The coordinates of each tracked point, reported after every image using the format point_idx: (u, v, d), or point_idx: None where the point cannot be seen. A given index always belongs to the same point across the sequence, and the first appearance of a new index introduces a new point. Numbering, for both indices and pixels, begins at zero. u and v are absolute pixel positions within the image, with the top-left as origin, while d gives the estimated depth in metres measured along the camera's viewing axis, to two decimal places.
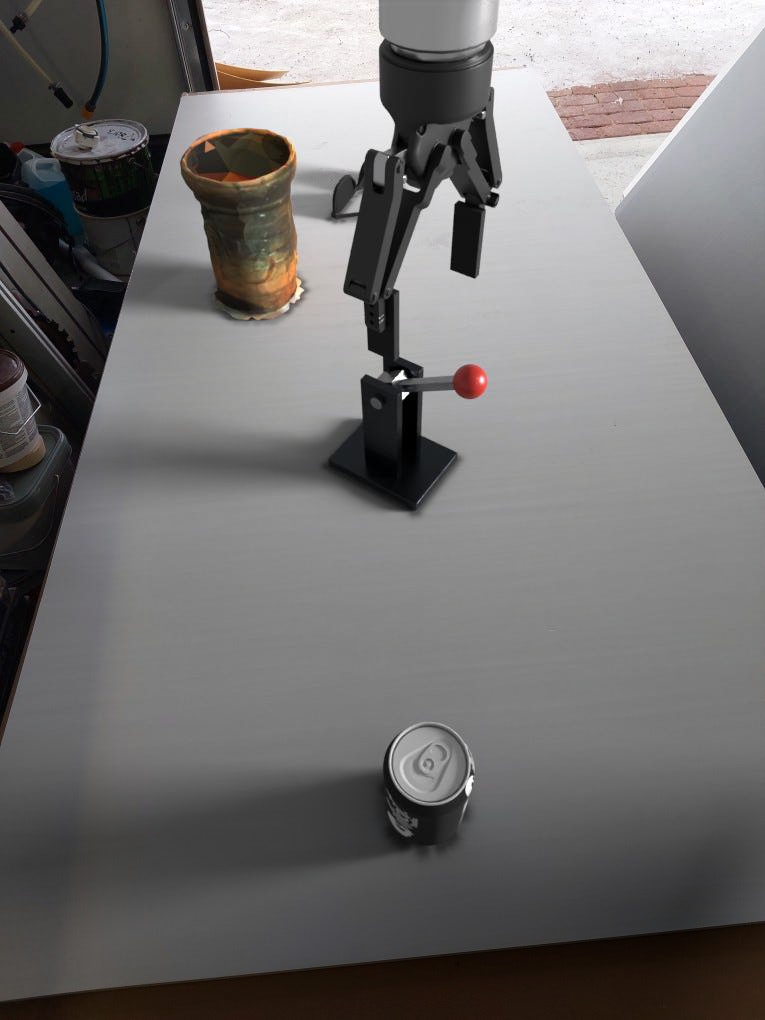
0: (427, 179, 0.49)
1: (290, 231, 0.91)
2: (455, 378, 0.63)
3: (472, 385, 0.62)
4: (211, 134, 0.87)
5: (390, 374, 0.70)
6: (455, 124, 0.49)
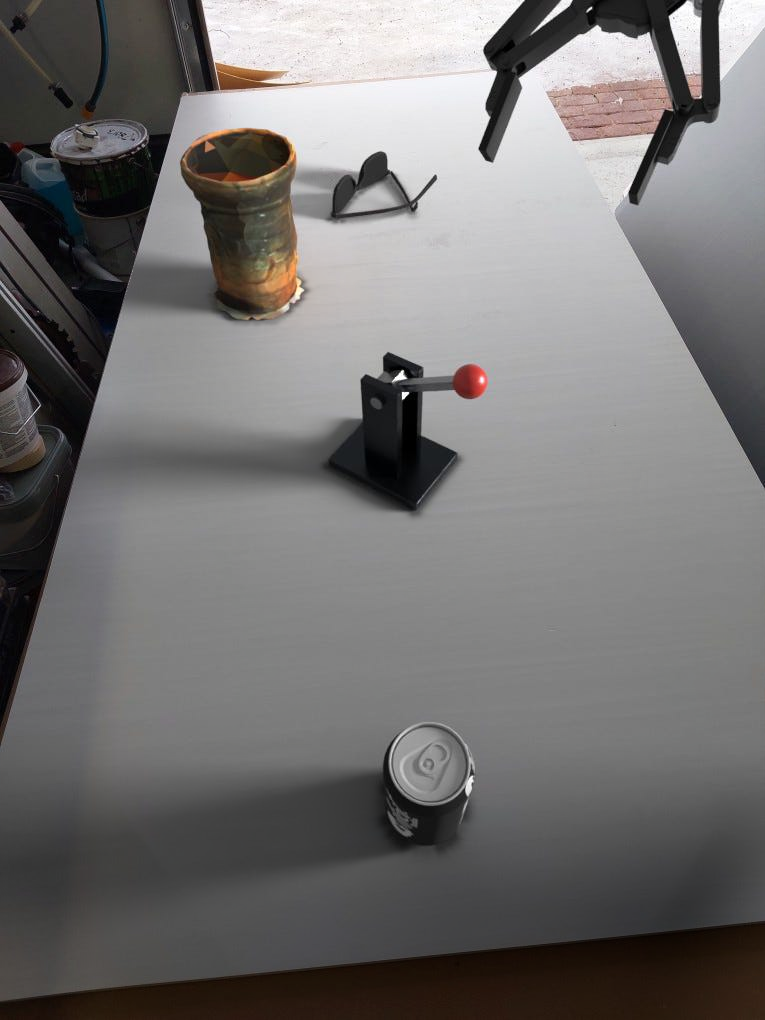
0: None
1: (290, 231, 0.91)
2: (455, 378, 0.63)
3: (472, 385, 0.62)
4: (211, 134, 0.87)
5: (390, 374, 0.70)
6: None
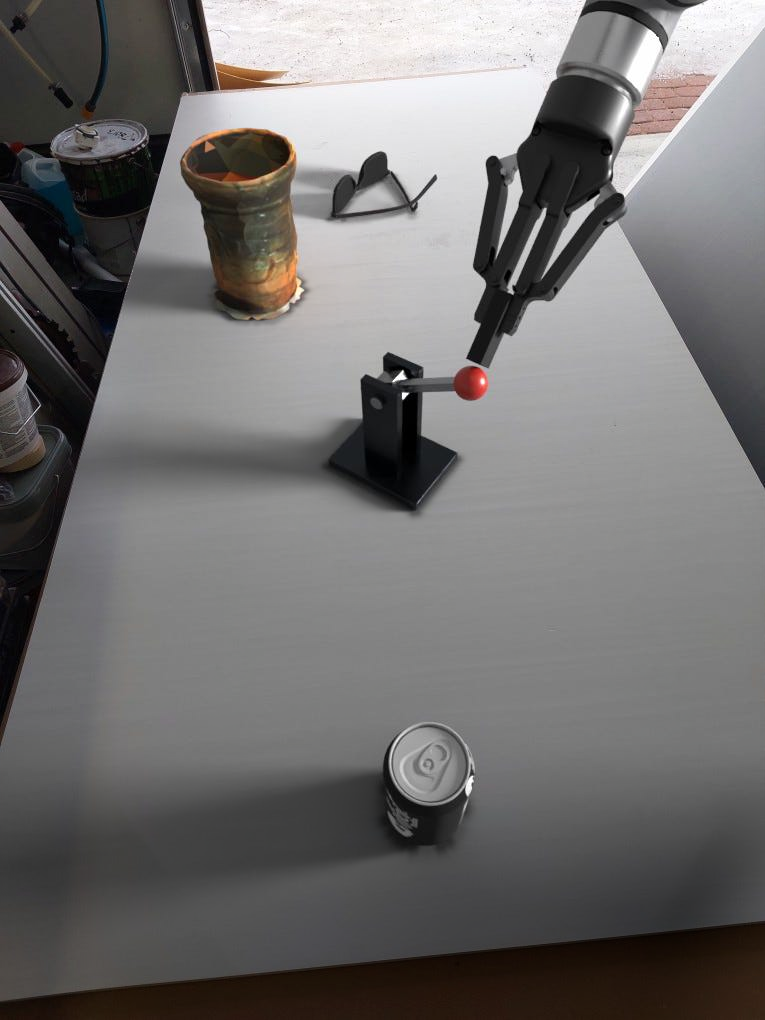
0: None
1: (290, 231, 0.91)
2: (456, 379, 0.63)
3: (473, 387, 0.62)
4: (211, 134, 0.87)
5: (390, 374, 0.70)
6: (576, 161, 0.57)
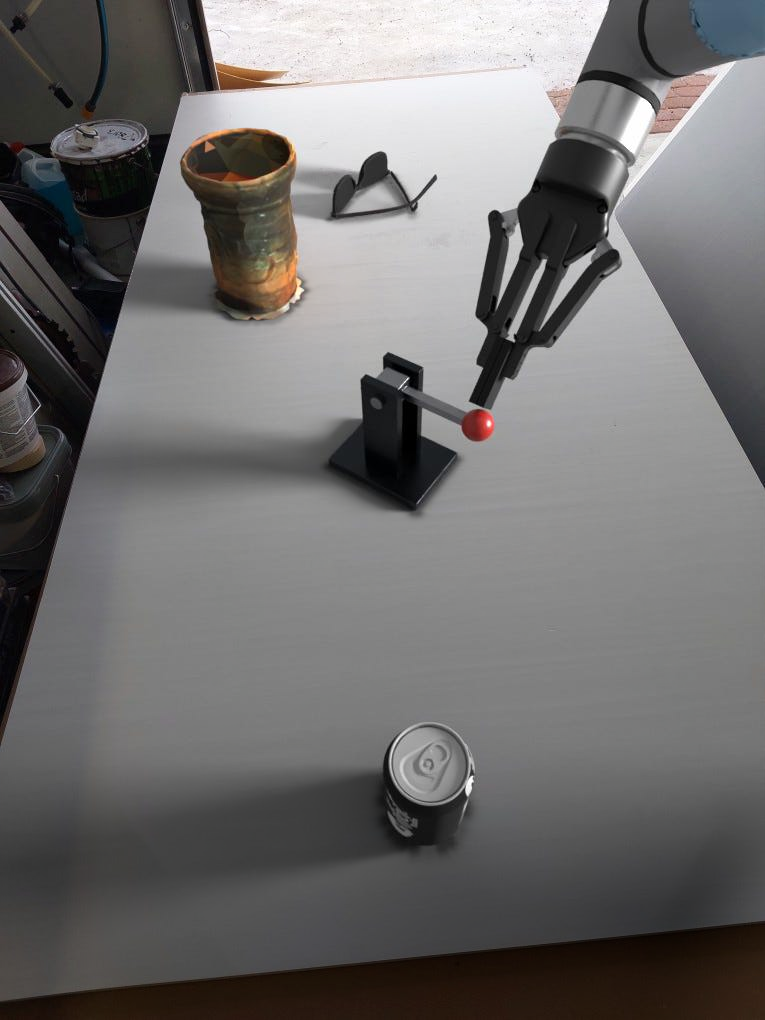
0: (527, 238, 0.62)
1: (290, 231, 0.91)
2: (468, 421, 0.66)
3: (482, 434, 0.66)
4: (211, 134, 0.87)
5: (395, 376, 0.70)
6: (574, 218, 0.60)
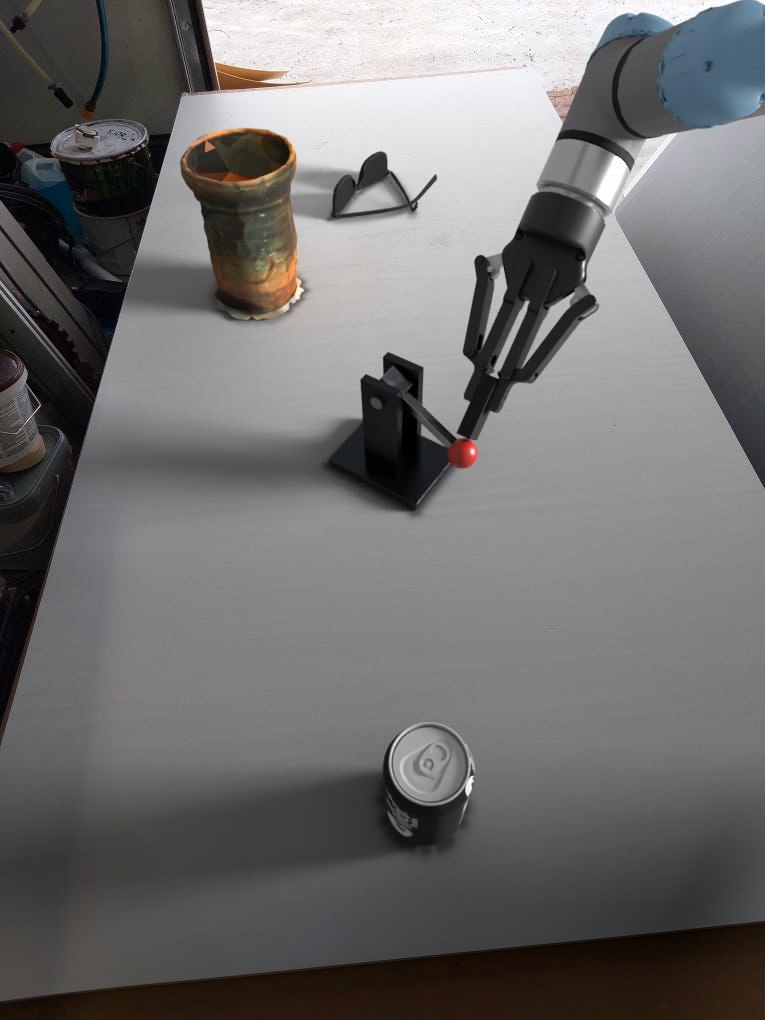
0: None
1: (290, 231, 0.91)
2: (458, 451, 0.70)
3: (466, 466, 0.71)
4: (211, 134, 0.87)
5: (400, 380, 0.70)
6: (554, 264, 0.64)
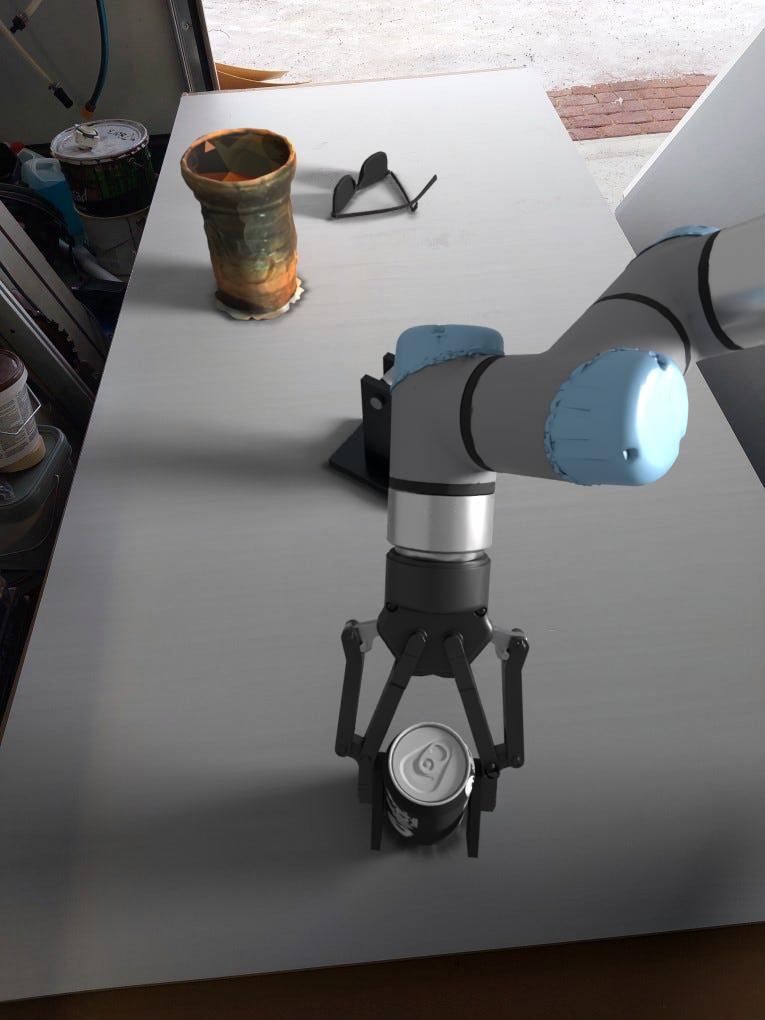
0: (398, 661, 0.49)
1: (290, 231, 0.91)
2: None
3: None
4: (211, 134, 0.87)
5: None
6: (452, 629, 0.49)
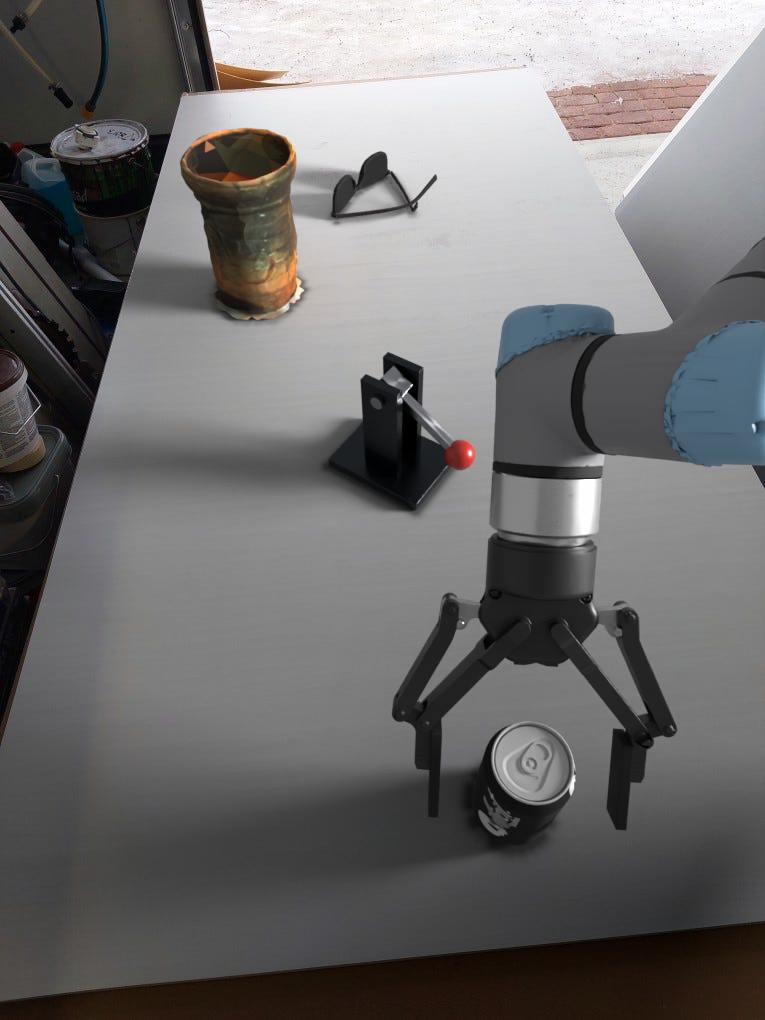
0: (495, 642, 0.48)
1: (290, 231, 0.91)
2: (457, 453, 0.71)
3: (463, 468, 0.71)
4: (211, 134, 0.87)
5: (401, 380, 0.70)
6: (557, 616, 0.48)
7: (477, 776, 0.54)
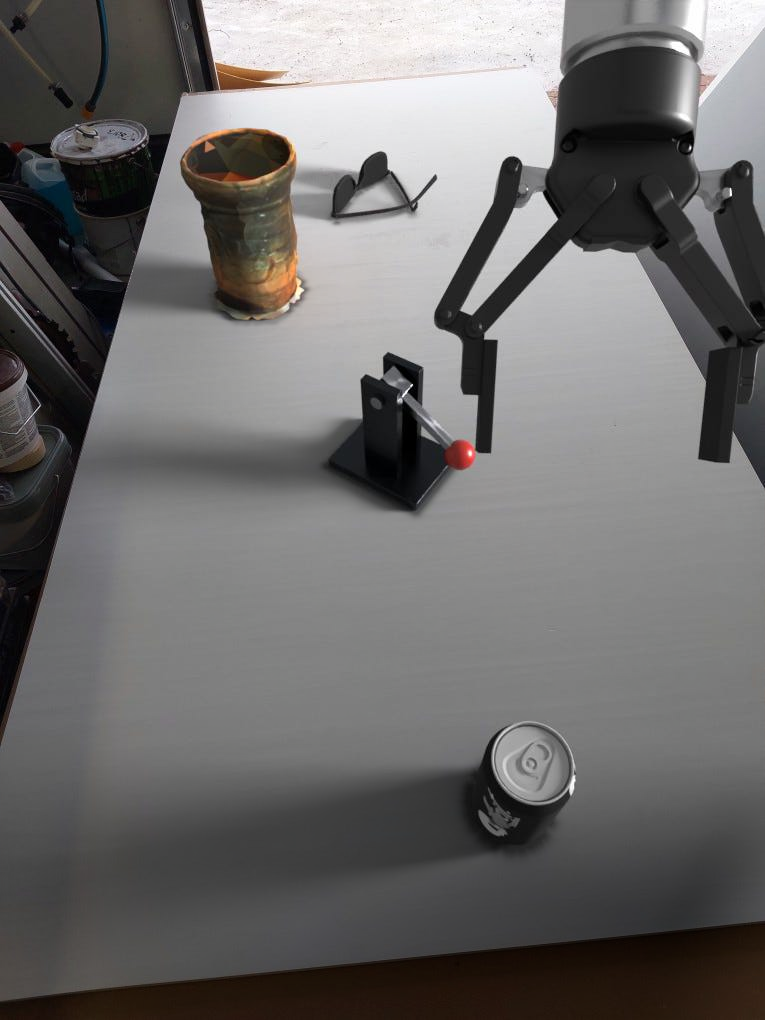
0: (568, 208, 0.38)
1: (290, 231, 0.91)
2: (457, 453, 0.71)
3: (463, 468, 0.71)
4: (211, 134, 0.87)
5: (401, 380, 0.70)
6: (648, 173, 0.38)
7: (477, 776, 0.54)
